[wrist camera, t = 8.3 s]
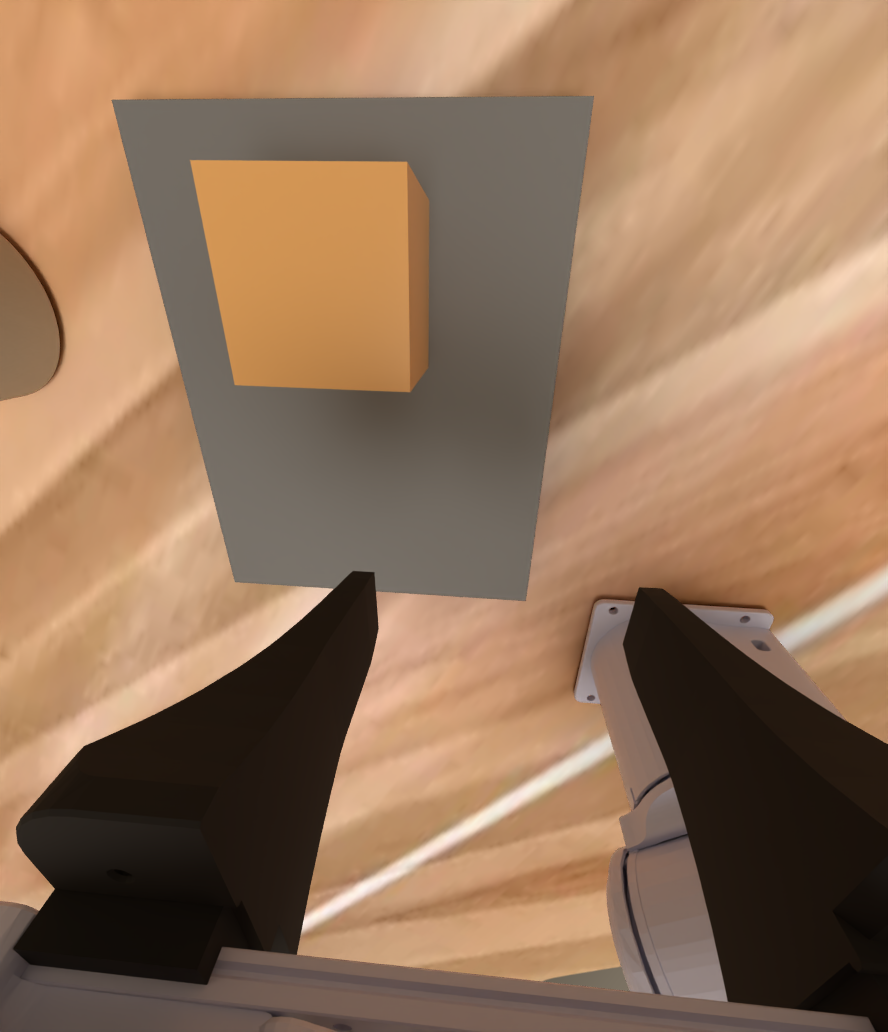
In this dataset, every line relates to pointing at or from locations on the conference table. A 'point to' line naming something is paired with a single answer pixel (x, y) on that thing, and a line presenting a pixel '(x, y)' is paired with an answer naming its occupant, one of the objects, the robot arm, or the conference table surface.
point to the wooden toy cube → (319, 271)
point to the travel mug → (24, 328)
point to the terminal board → (452, 341)
